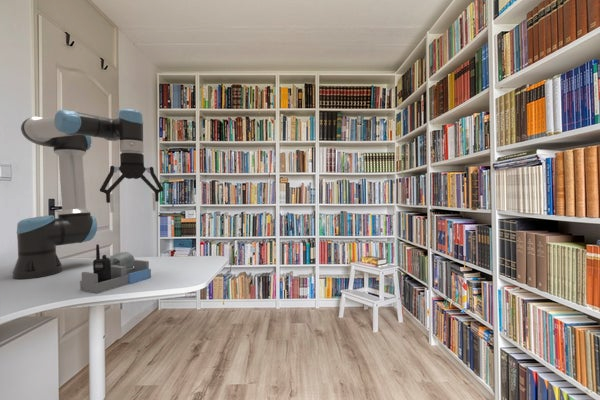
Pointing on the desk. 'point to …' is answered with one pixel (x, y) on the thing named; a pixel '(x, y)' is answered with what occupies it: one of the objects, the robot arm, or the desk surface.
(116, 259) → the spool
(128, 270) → the blue-ended grey tray
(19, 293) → the desk surface
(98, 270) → the two-way radio
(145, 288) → the desk surface
